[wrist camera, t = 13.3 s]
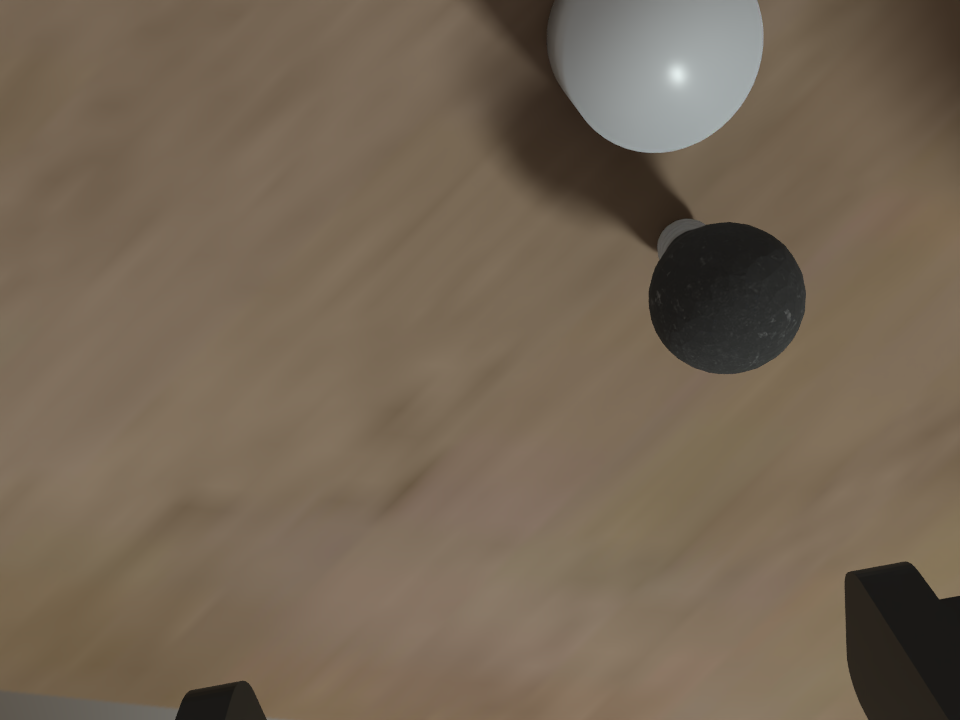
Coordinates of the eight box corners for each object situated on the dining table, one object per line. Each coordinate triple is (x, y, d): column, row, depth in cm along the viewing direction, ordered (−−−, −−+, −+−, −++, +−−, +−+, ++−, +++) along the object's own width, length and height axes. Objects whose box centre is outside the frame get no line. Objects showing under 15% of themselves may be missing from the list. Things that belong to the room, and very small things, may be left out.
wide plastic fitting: (705, -78, 33) (755, -81, 27) (721, 101, 36) (769, 129, 30) (532, -36, 33) (547, -32, 28) (562, 137, 36) (581, 171, 31)
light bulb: (724, 157, 37) (813, 227, 28) (755, 271, 39) (845, 370, 30) (601, 205, 38) (648, 288, 29) (637, 314, 40) (692, 423, 31)
